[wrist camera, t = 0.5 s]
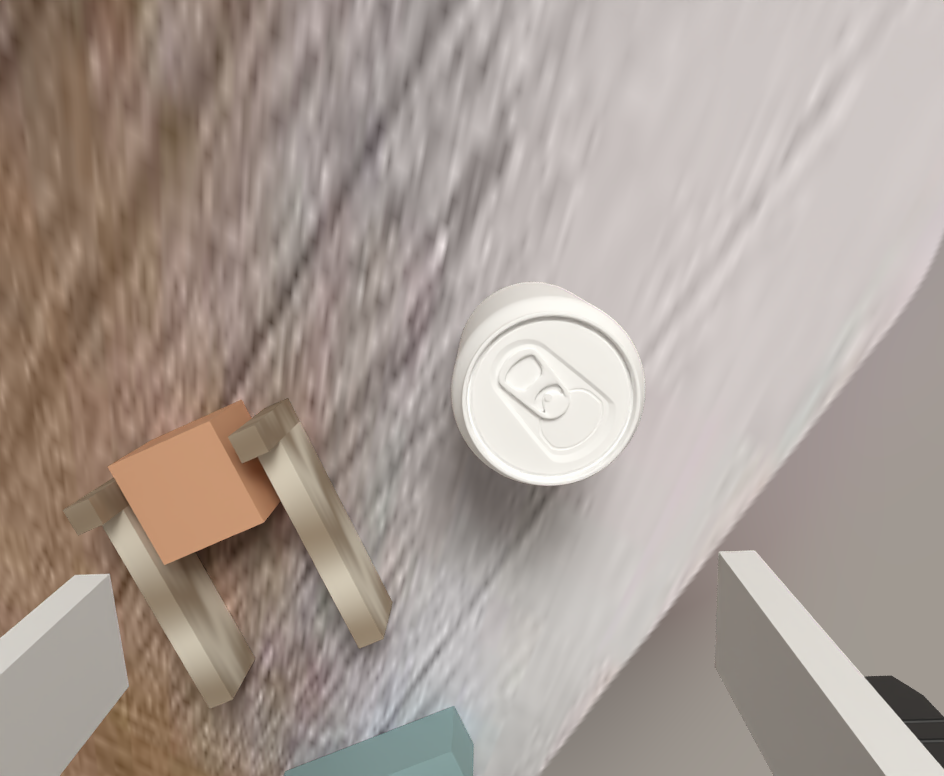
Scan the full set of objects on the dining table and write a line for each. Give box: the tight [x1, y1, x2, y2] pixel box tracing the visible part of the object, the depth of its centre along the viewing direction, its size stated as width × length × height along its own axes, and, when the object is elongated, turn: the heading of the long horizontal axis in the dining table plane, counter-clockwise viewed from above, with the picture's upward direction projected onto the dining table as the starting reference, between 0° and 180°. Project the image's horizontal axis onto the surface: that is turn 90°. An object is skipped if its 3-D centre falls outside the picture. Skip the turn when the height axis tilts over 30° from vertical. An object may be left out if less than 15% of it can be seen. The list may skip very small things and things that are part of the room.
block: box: [108, 400, 281, 565], centre depth 39 cm, size 6×6×5 cm
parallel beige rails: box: [63, 398, 392, 709], centre depth 39 cm, size 14×11×6 cm
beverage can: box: [451, 282, 645, 486], centre depth 34 cm, size 8×8×12 cm
